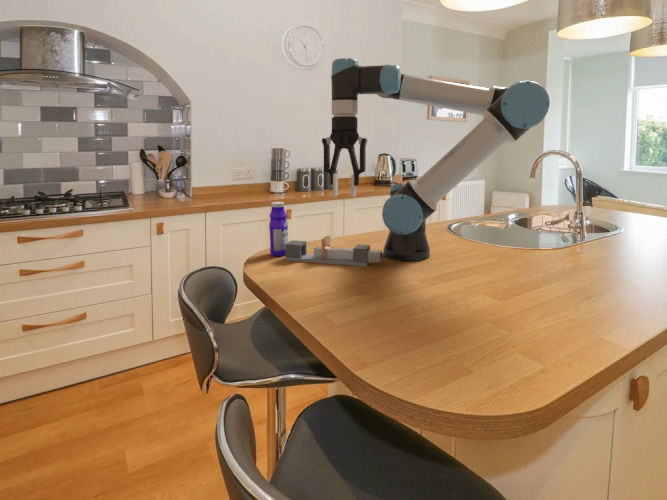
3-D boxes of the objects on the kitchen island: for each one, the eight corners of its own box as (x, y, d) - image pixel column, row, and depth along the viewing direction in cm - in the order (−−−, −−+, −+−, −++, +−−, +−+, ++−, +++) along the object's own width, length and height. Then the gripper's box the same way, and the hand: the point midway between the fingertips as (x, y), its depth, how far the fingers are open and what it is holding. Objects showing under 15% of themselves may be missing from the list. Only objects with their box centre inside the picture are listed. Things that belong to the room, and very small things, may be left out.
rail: (369, 261, 148) (370, 245, 147) (365, 266, 143) (365, 249, 141) (292, 255, 155) (292, 240, 154) (285, 260, 150) (285, 244, 148)
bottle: (284, 257, 153) (282, 204, 149) (267, 256, 155) (265, 203, 150) (290, 252, 160) (289, 201, 156) (274, 251, 162) (273, 200, 157)
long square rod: (382, 258, 146) (382, 239, 145) (379, 263, 142) (379, 242, 140) (318, 254, 152) (317, 235, 151) (312, 258, 147) (312, 238, 146)
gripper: (377, 116, 138) (376, 195, 143) (319, 117, 143) (320, 193, 148) (372, 115, 131) (371, 198, 136) (311, 116, 136) (312, 196, 141)
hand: (344, 196), depth 142 cm, fingers open, 5 cm apart
